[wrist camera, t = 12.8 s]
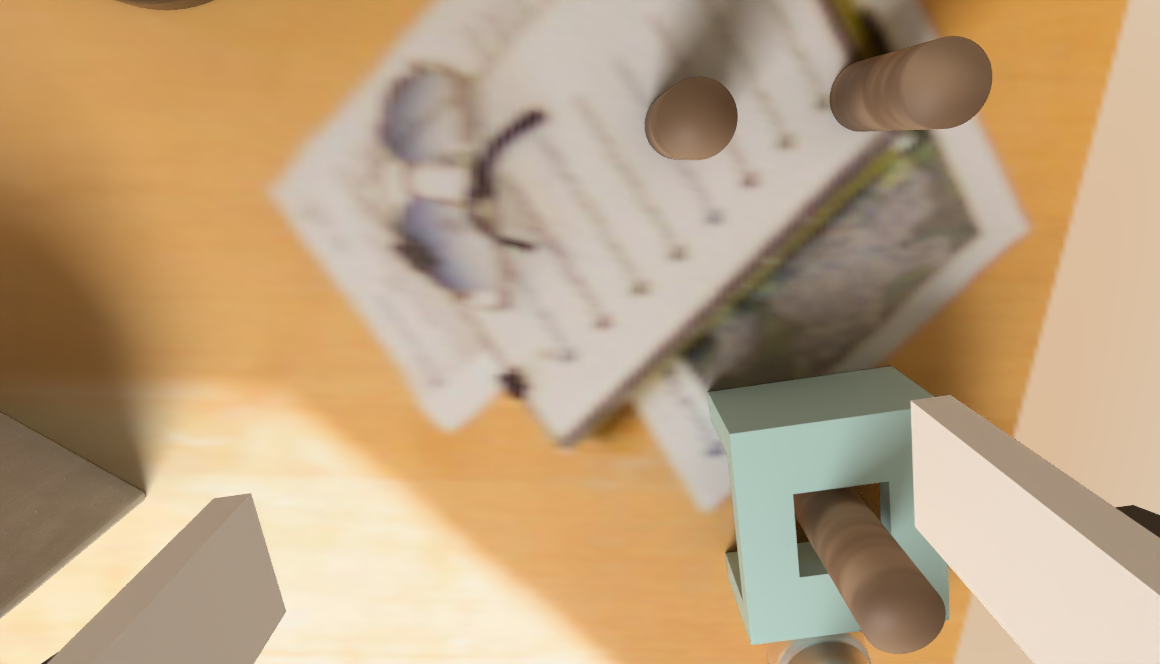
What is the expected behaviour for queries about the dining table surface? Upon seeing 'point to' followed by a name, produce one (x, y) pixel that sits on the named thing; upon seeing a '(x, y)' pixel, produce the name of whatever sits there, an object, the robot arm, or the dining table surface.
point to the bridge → (814, 489)
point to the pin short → (692, 120)
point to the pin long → (871, 571)
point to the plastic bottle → (820, 650)
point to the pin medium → (914, 87)
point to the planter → (49, 508)
